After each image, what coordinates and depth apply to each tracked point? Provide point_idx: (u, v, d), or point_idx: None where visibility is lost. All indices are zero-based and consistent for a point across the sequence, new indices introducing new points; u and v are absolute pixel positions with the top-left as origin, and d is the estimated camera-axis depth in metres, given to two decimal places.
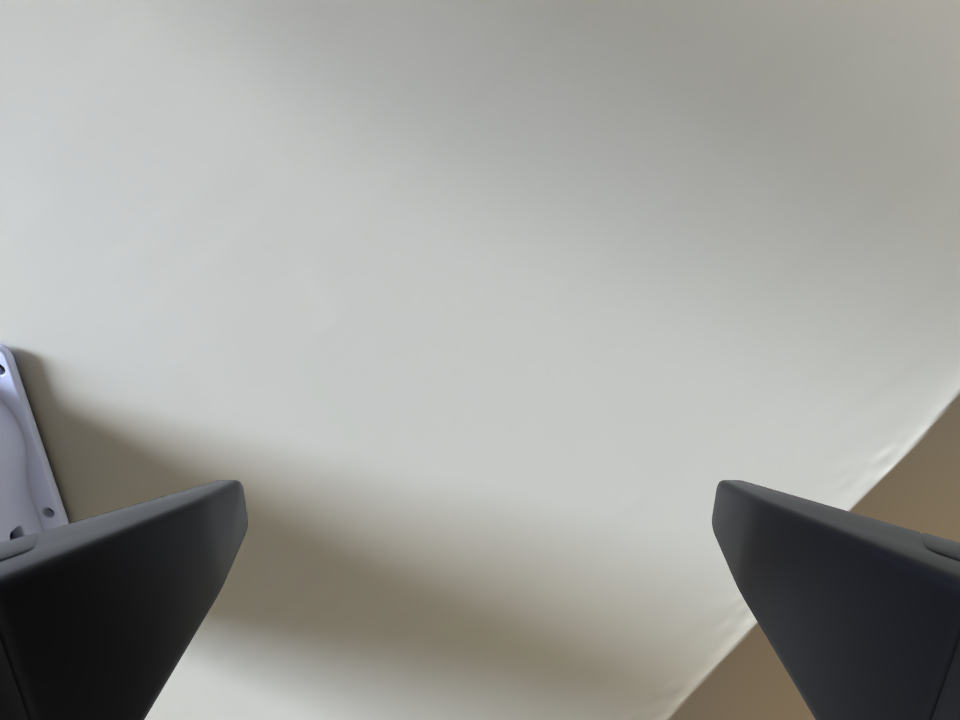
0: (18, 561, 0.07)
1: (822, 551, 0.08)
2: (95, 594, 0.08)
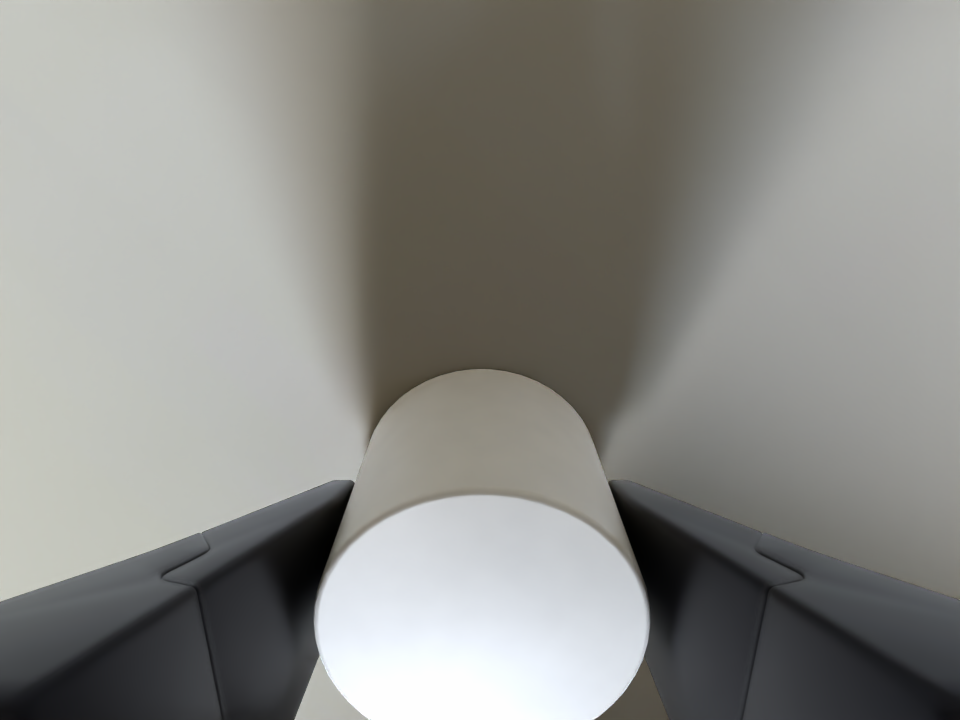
0: (207, 561, 0.07)
1: (670, 551, 0.08)
2: (265, 594, 0.08)
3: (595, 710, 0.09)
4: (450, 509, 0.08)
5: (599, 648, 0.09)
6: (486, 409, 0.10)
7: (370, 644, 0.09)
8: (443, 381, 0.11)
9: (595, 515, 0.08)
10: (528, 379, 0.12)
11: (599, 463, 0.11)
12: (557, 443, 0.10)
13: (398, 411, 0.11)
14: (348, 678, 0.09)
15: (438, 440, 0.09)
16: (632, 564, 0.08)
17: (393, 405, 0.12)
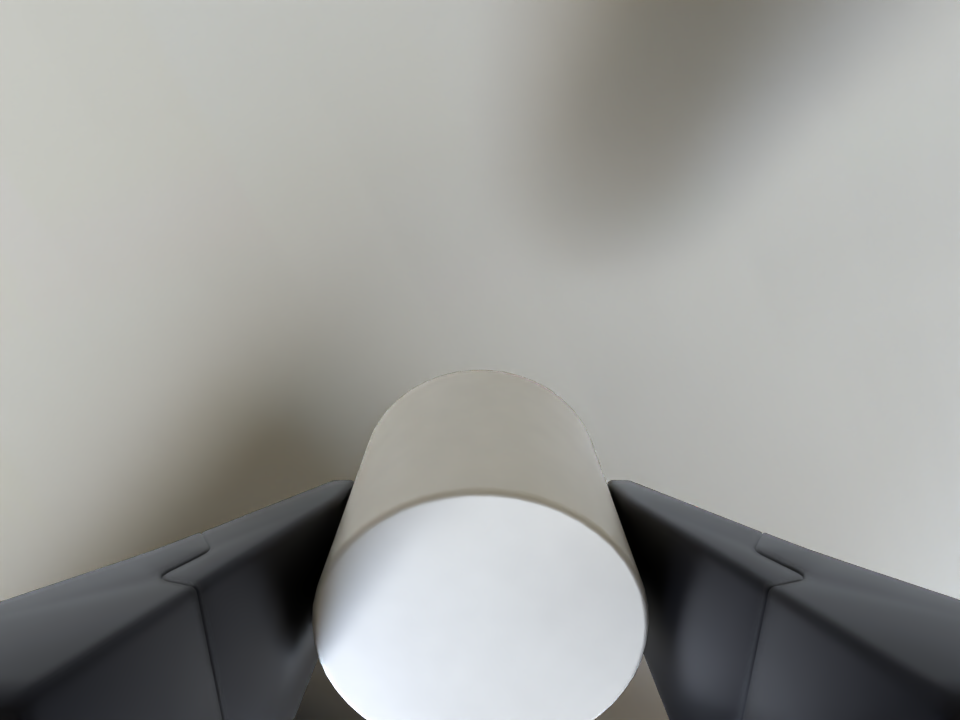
0: (207, 561, 0.07)
1: (670, 551, 0.08)
2: (266, 594, 0.08)
3: (594, 710, 0.09)
4: (448, 509, 0.08)
5: (597, 649, 0.09)
6: (485, 410, 0.10)
7: (369, 645, 0.09)
8: (442, 382, 0.11)
9: (593, 515, 0.08)
10: (527, 380, 0.12)
11: (598, 464, 0.11)
12: (556, 445, 0.10)
13: (397, 412, 0.11)
14: (347, 679, 0.09)
15: (437, 441, 0.09)
16: (630, 565, 0.08)
17: (392, 406, 0.12)
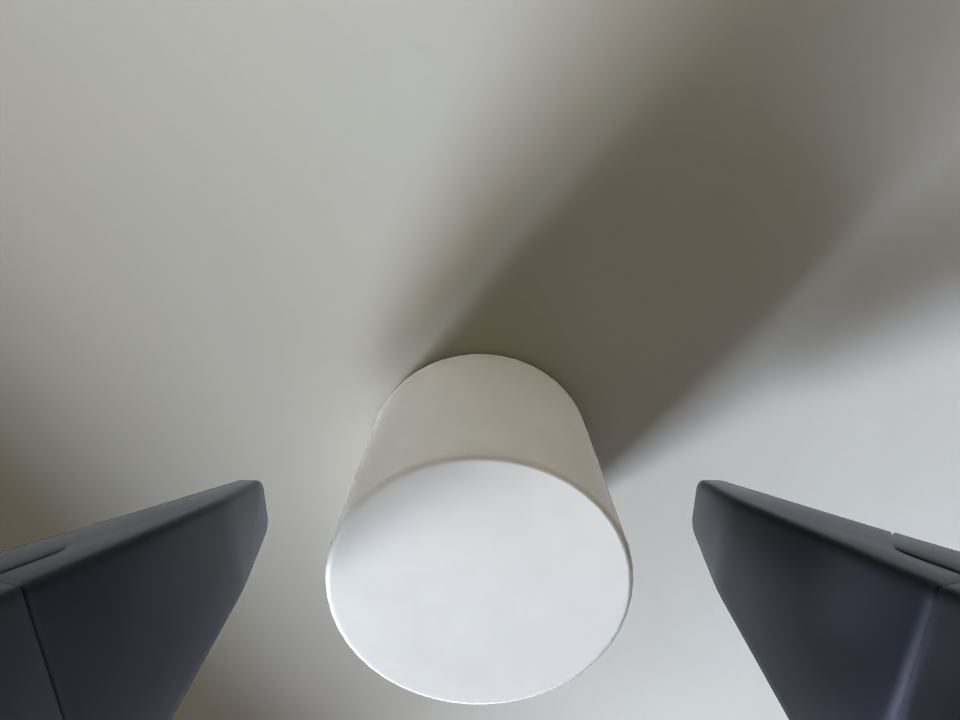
0: (52, 561, 0.07)
1: (794, 551, 0.08)
2: (126, 594, 0.08)
3: (583, 662, 0.10)
4: (449, 473, 0.09)
5: (586, 604, 0.09)
6: (483, 389, 0.11)
7: (377, 600, 0.09)
8: (444, 365, 0.12)
9: (581, 479, 0.09)
10: (523, 363, 0.12)
11: (588, 440, 0.12)
12: (548, 419, 0.10)
13: (402, 392, 0.12)
14: (357, 632, 0.10)
15: (439, 415, 0.10)
16: (615, 525, 0.09)
17: (397, 388, 0.13)
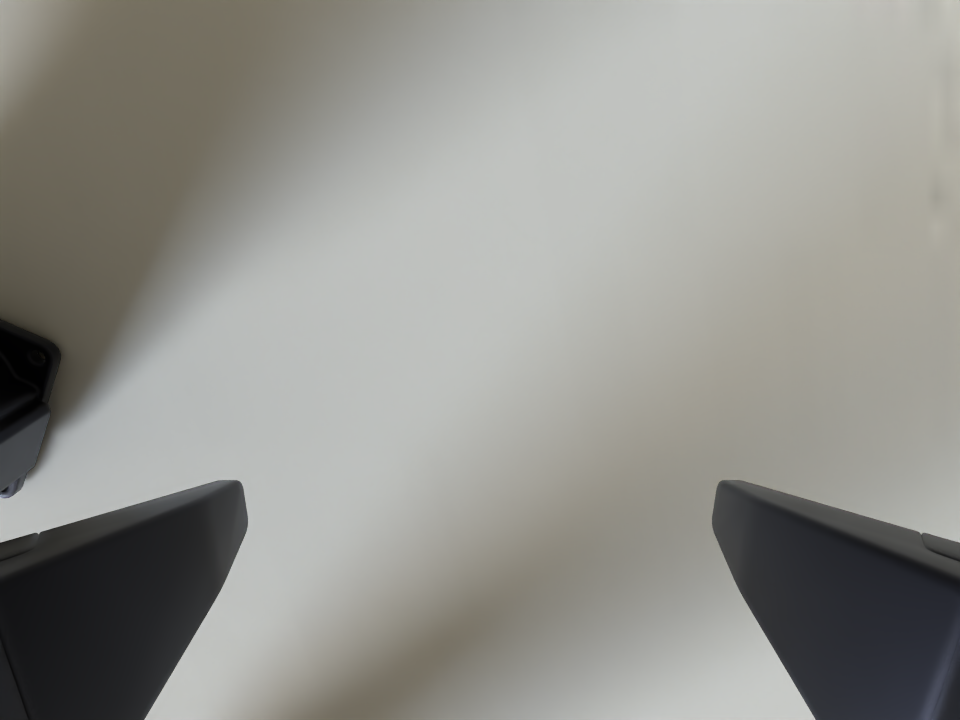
0: (18, 561, 0.07)
1: (822, 551, 0.08)
2: (96, 594, 0.08)
3: None
4: None
5: None
6: None
7: None
8: None
9: None
10: None
11: None
12: None
13: None
14: None
15: None
16: None
17: None
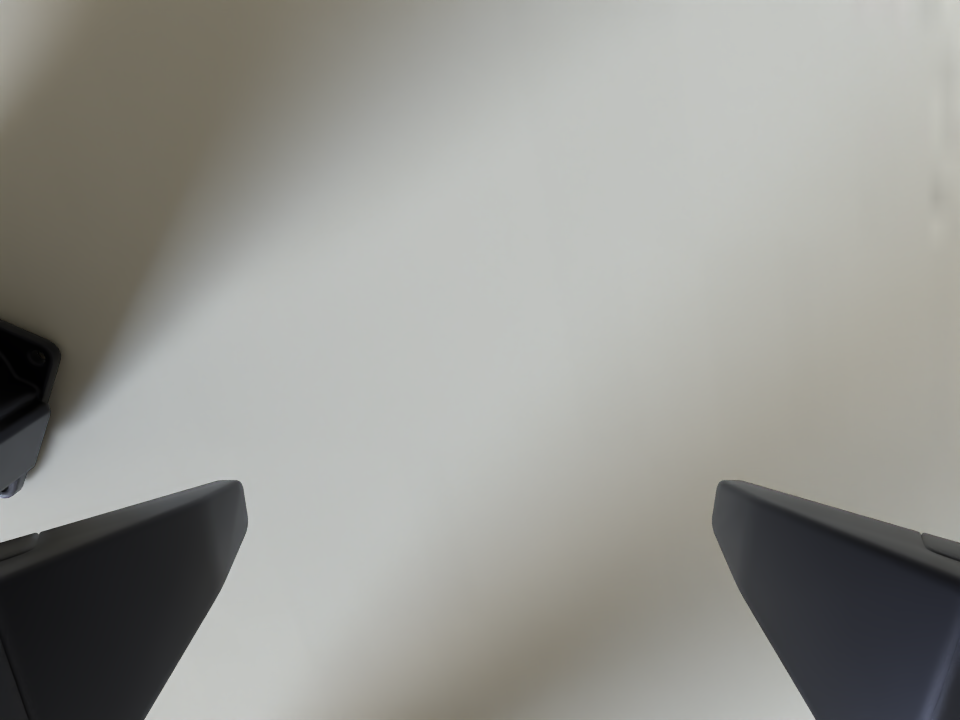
0: (18, 561, 0.07)
1: (822, 551, 0.08)
2: (96, 594, 0.08)
3: None
4: None
5: None
6: None
7: None
8: None
9: None
10: None
11: None
12: None
13: None
14: None
15: None
16: None
17: None
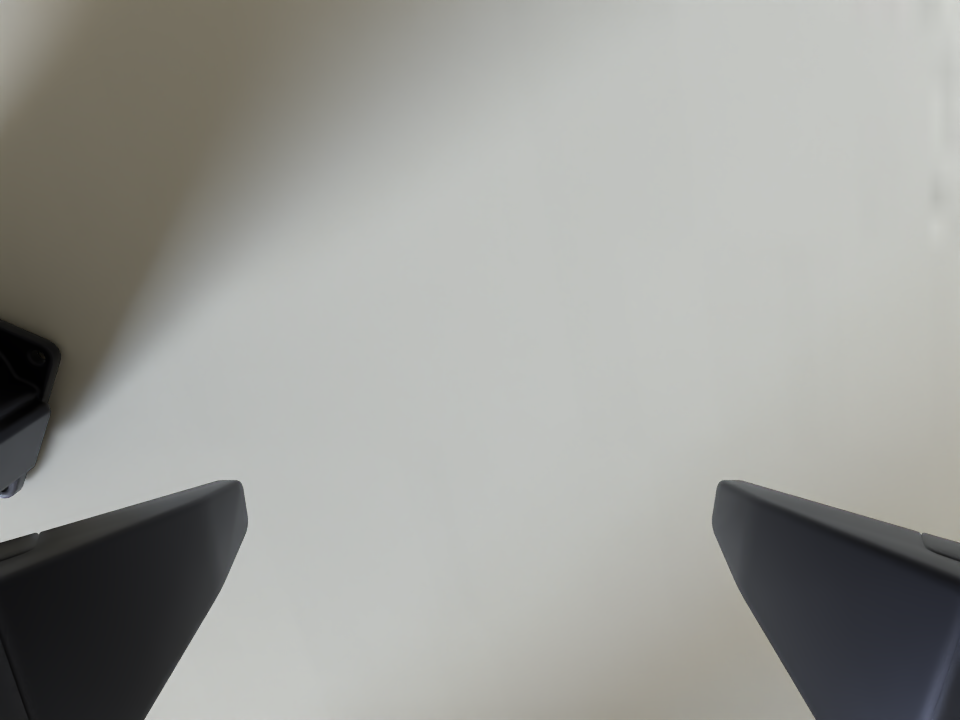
0: (18, 561, 0.07)
1: (822, 551, 0.08)
2: (96, 594, 0.08)
3: None
4: None
5: None
6: None
7: None
8: None
9: None
10: None
11: None
12: None
13: None
14: None
15: None
16: None
17: None
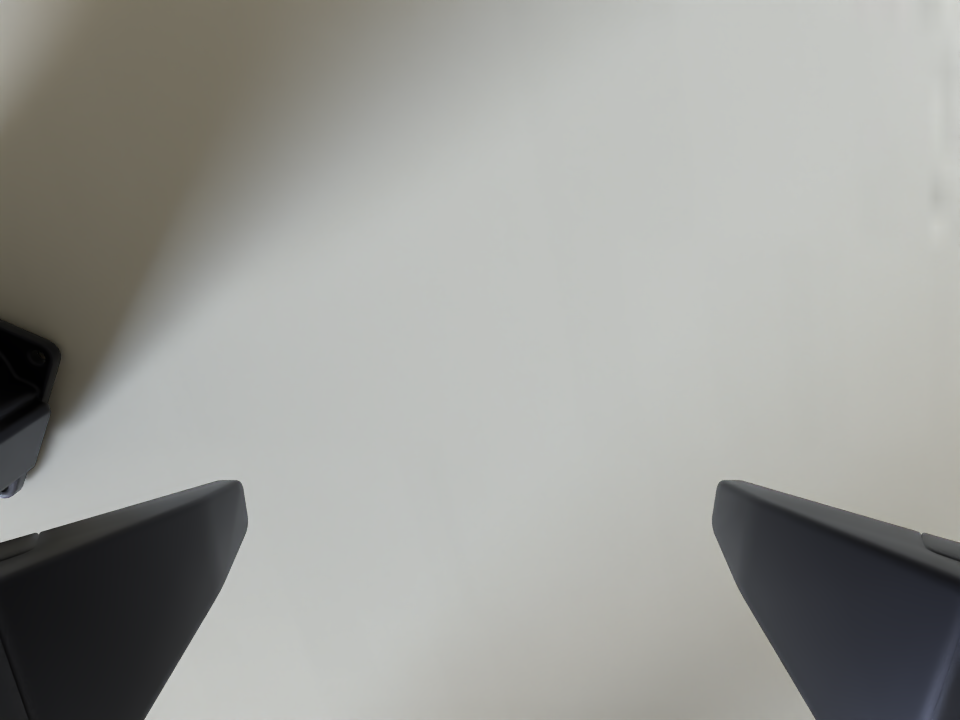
0: (18, 561, 0.07)
1: (822, 551, 0.08)
2: (96, 594, 0.08)
3: None
4: None
5: None
6: None
7: None
8: None
9: None
10: None
11: None
12: None
13: None
14: None
15: None
16: None
17: None
